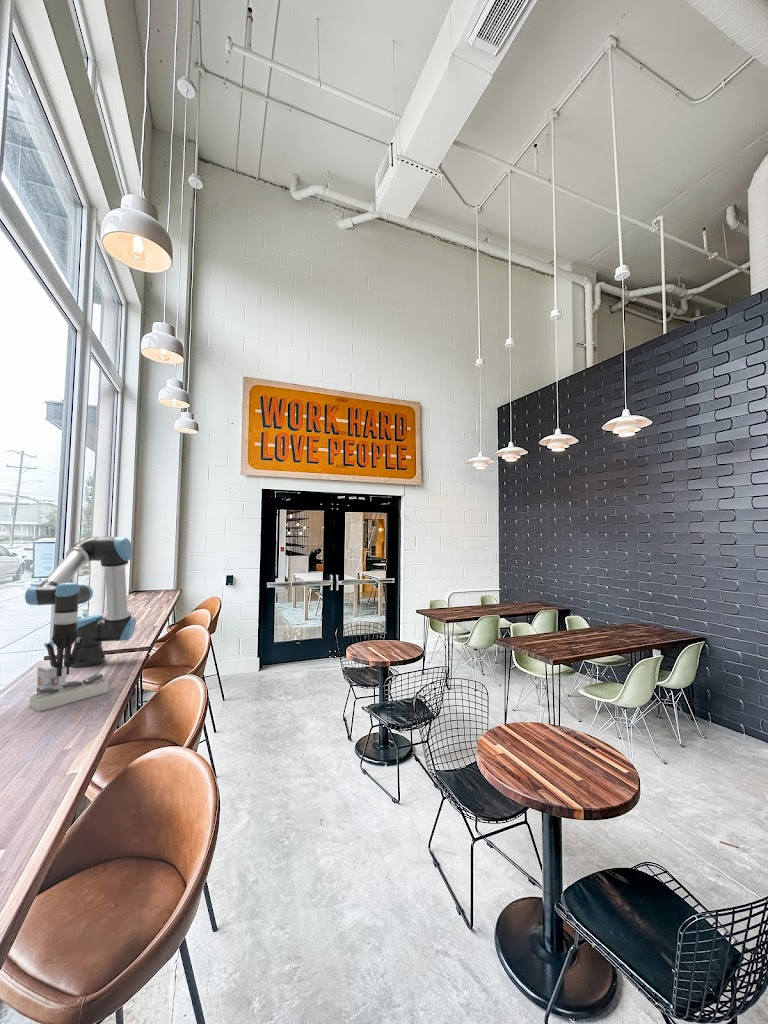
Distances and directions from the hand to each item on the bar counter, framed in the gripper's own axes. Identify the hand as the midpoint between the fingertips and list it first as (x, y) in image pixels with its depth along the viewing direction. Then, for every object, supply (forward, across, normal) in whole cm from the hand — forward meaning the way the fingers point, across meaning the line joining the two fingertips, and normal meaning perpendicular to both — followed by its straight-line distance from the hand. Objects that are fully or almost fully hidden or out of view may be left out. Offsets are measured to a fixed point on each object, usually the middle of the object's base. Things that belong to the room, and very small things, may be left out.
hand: (62, 684), depth 173 cm
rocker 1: (+1, +5, 0) cm, 5 cm away
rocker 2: (+1, -3, 0) cm, 3 cm away
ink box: (+7, 0, -12) cm, 14 cm away
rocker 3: (+1, -11, 0) cm, 11 cm away
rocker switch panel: (+7, -3, 0) cm, 7 cm away
